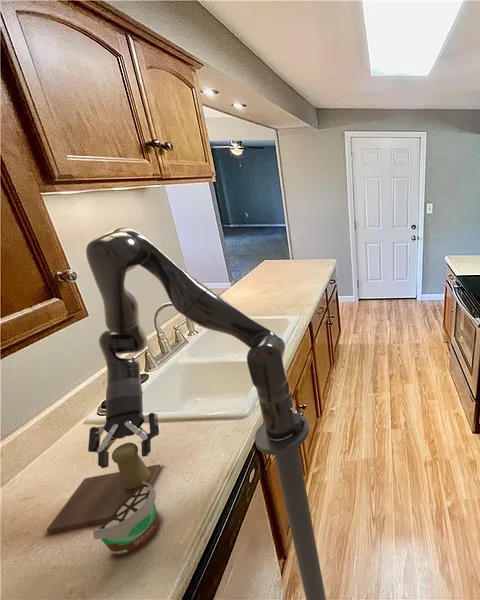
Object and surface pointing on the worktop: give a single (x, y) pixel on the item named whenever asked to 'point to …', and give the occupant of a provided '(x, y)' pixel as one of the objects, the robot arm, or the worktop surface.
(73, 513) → the cutting board
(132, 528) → the food container
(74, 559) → the worktop surface
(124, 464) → the cork
